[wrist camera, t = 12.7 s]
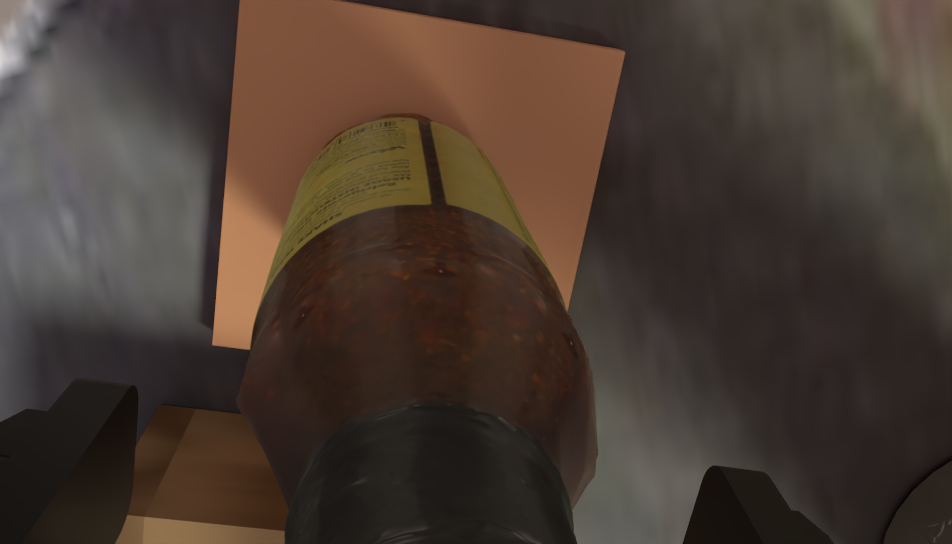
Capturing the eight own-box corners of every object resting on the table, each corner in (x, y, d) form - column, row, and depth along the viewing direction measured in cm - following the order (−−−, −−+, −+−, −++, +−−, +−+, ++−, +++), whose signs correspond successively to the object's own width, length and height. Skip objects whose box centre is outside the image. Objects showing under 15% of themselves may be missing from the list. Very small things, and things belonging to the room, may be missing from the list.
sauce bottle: (284, 281, 27) (0, 1004, 8) (320, 82, 25) (50, 459, 6) (489, 321, 28) (637, 1053, 9) (539, 133, 26) (852, 588, 7)
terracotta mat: (619, 49, 26) (625, 52, 25) (547, 376, 30) (550, 387, 29) (246, -17, 25) (241, -16, 24) (217, 335, 28) (212, 345, 28)
